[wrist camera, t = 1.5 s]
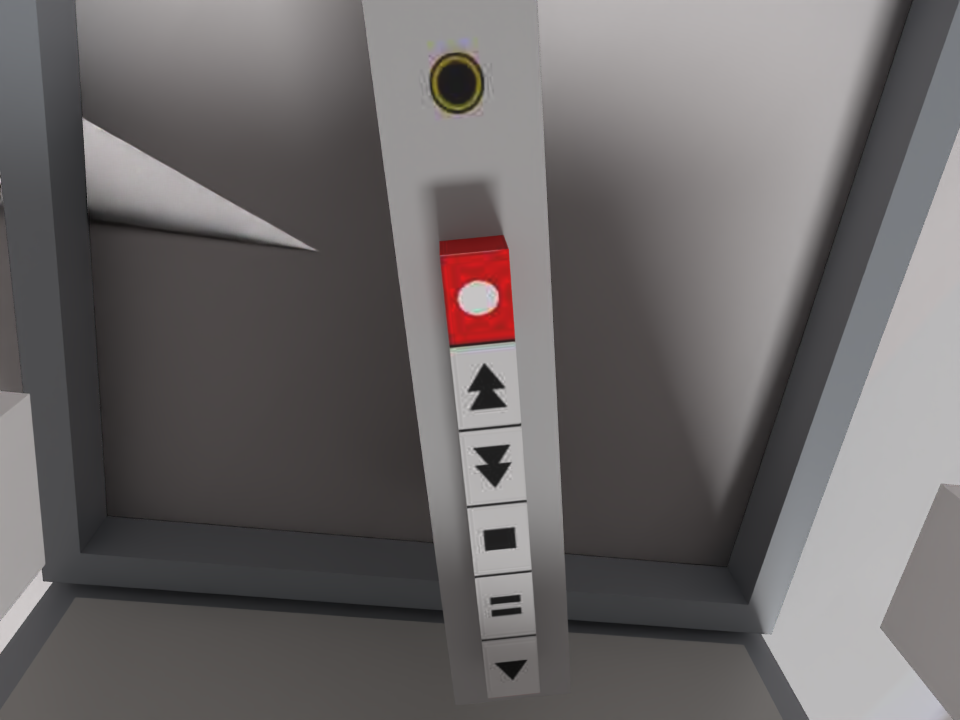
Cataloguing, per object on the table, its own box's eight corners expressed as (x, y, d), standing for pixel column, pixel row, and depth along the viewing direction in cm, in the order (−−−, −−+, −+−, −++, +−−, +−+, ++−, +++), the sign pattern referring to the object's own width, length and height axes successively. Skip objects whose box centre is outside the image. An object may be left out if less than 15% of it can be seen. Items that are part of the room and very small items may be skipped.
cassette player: (390, -14, 19) (344, -81, 10) (492, -23, 19) (542, -98, 10) (449, 491, 25) (456, 743, 16) (527, 484, 25) (578, 730, 16)
